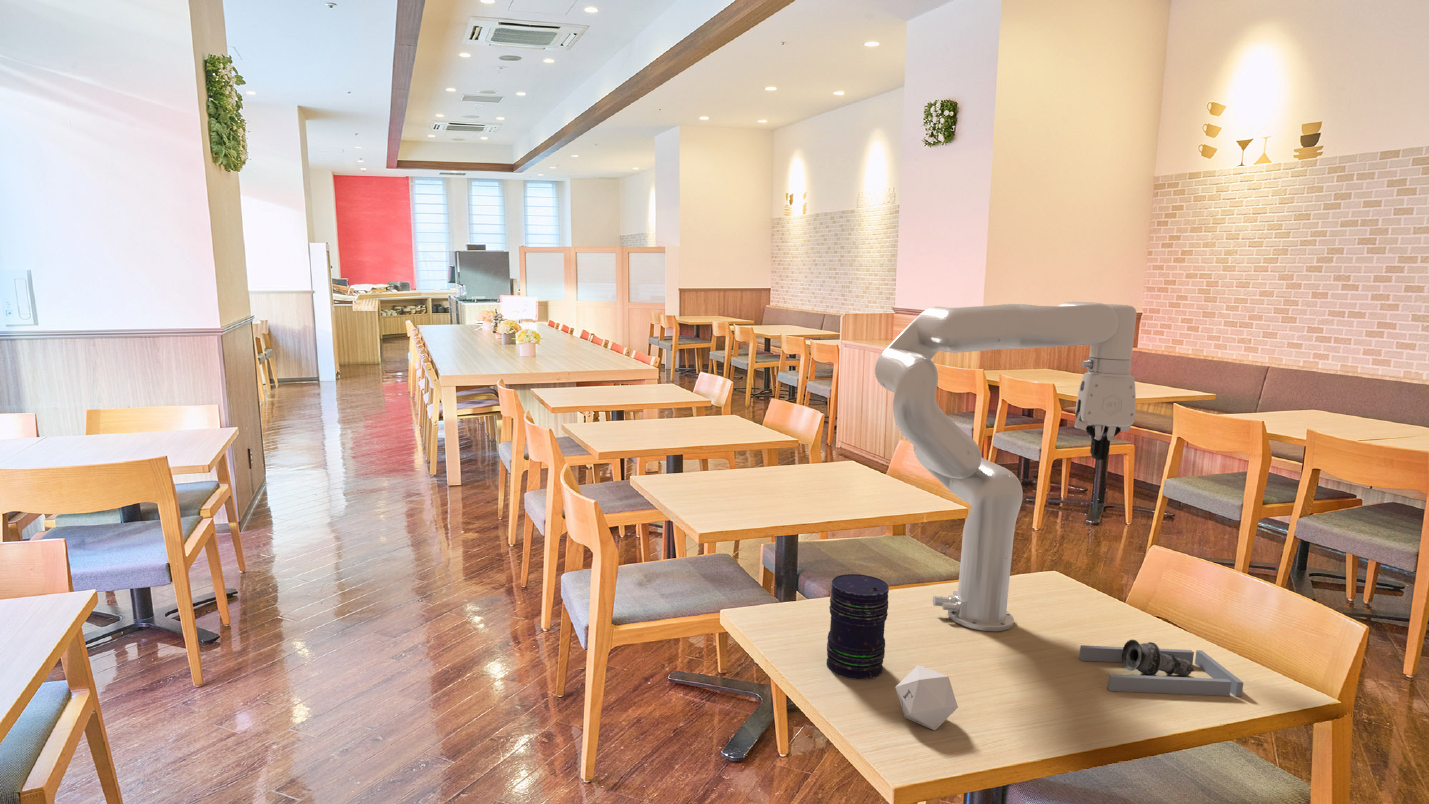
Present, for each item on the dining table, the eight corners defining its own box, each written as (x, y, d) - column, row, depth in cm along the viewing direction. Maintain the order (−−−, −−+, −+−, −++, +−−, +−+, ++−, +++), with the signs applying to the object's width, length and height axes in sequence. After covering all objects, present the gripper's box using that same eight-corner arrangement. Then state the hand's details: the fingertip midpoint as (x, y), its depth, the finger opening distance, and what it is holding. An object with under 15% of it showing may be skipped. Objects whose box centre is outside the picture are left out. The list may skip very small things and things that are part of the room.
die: (897, 705, 131) (881, 672, 126) (945, 680, 131) (931, 646, 126) (921, 748, 124) (905, 715, 119) (971, 722, 124) (958, 688, 119)
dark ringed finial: (1119, 670, 145) (1181, 685, 146) (1140, 673, 139) (1205, 689, 140) (1122, 637, 147) (1183, 652, 148) (1143, 638, 141) (1207, 654, 142)
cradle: (1110, 690, 137) (1111, 676, 137) (1079, 658, 149) (1080, 645, 149) (1241, 696, 137) (1243, 682, 137) (1200, 663, 149) (1201, 650, 149)
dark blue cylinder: (814, 665, 142) (819, 583, 140) (846, 648, 149) (851, 569, 147) (863, 686, 136) (869, 600, 133) (894, 667, 143) (900, 585, 140)
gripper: (1079, 368, 158) (1069, 461, 160) (1157, 371, 158) (1145, 464, 160) (1063, 364, 165) (1053, 453, 168) (1137, 367, 165) (1126, 456, 168)
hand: (1098, 458), depth 164 cm, fingers closed
